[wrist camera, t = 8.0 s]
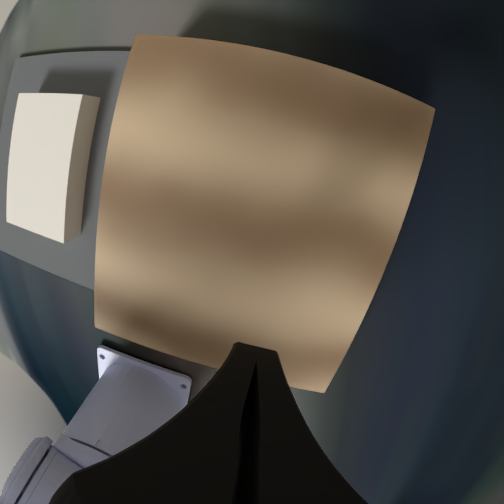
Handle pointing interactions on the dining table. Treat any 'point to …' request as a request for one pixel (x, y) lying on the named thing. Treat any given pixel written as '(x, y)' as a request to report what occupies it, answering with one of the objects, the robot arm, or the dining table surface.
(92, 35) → the dining table surface
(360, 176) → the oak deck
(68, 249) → the charcoal mat
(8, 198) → the cream tile
